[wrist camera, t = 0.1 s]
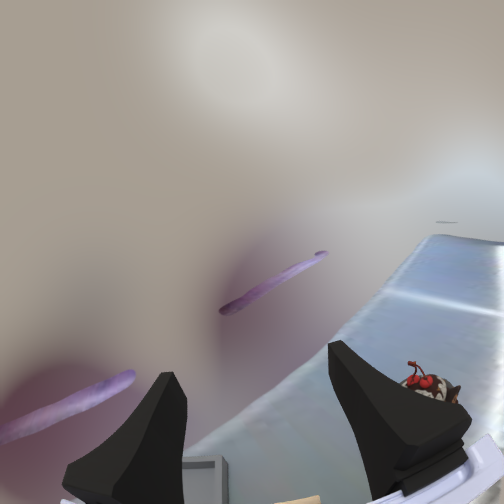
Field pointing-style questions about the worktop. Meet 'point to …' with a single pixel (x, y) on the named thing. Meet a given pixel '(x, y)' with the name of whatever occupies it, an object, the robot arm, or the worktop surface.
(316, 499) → the block
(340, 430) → the worktop surface
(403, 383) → the sundae
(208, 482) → the tray
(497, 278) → the worktop surface
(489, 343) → the worktop surface
